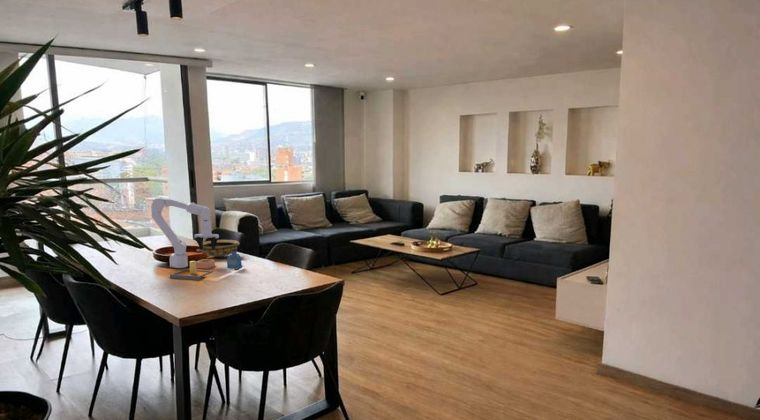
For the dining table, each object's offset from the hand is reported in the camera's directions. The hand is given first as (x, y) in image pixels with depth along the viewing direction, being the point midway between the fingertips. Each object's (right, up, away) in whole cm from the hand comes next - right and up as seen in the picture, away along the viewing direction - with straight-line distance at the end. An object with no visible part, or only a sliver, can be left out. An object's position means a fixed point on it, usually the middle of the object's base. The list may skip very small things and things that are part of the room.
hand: (207, 249), depth 294 cm
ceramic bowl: (-1, -8, +26) cm, 27 cm away
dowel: (-1, -12, -20) cm, 24 cm away
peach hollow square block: (0, -11, -4) cm, 12 cm away
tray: (-2, -13, -20) cm, 24 cm away
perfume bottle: (+17, -11, -3) cm, 21 cm away
